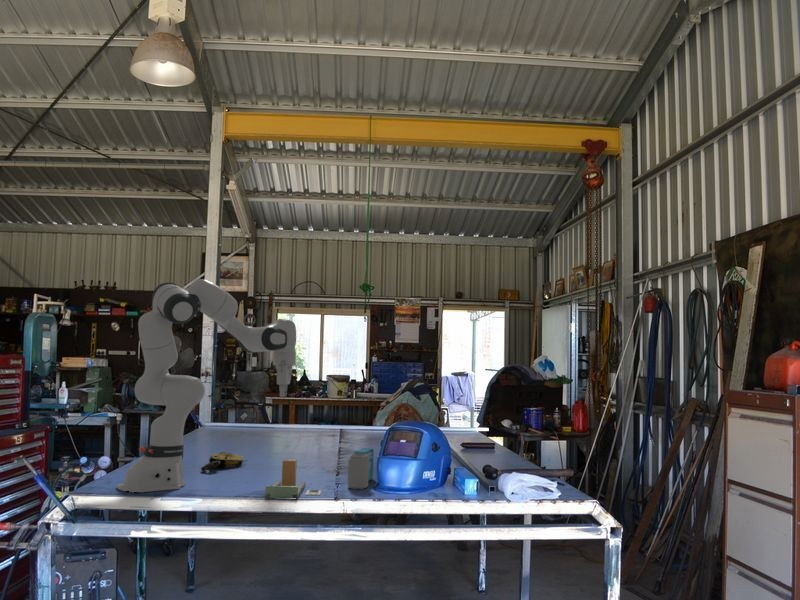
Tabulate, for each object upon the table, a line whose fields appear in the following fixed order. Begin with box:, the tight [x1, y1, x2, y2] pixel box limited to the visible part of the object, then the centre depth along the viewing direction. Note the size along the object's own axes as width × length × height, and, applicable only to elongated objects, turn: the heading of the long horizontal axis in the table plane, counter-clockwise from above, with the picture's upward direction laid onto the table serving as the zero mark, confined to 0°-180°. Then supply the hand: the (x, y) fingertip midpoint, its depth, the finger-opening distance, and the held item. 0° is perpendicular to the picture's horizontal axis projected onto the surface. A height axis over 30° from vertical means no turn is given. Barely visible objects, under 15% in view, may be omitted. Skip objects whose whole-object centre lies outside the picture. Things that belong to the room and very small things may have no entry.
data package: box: [353, 447, 375, 482], centre depth 257 cm, size 12×4×12 cm, turn 166°
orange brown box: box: [281, 458, 298, 486], centre depth 237 cm, size 4×4×10 cm
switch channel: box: [264, 480, 323, 500], centre depth 231 cm, size 24×17×4 cm
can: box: [347, 453, 369, 490], centre depth 242 cm, size 8×8×12 cm
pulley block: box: [200, 452, 248, 472], centre depth 278 cm, size 14×6×30 cm
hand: (283, 396), depth 258 cm, fingers open, 8 cm apart
